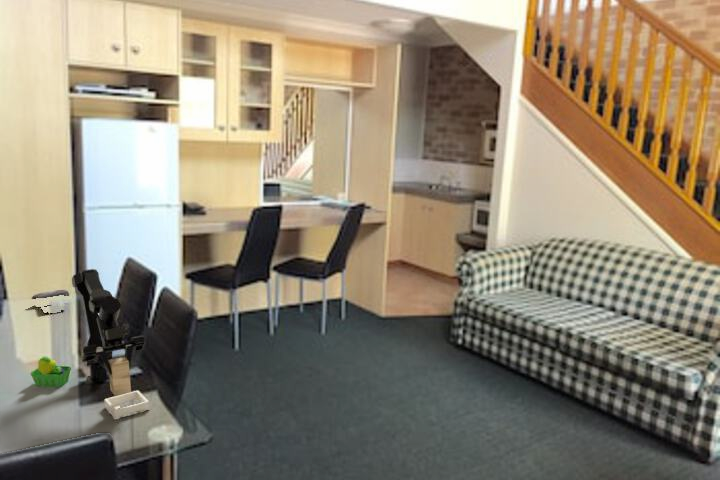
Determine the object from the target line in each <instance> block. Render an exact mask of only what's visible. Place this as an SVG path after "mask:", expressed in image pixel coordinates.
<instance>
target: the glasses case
mask: <svg viewBox="0 0 720 480" xmlns="http://www.w3.org/2000/svg"><path fill="white" fill-rule="evenodd" d="M59 295H64V296H69V297H70V292H69V291H68V290H66V289H57V290H50V291H45V292H40V293H36V294H34V295H32V296H31V299H36V298H47V297H53V296H59Z"/></svg>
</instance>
